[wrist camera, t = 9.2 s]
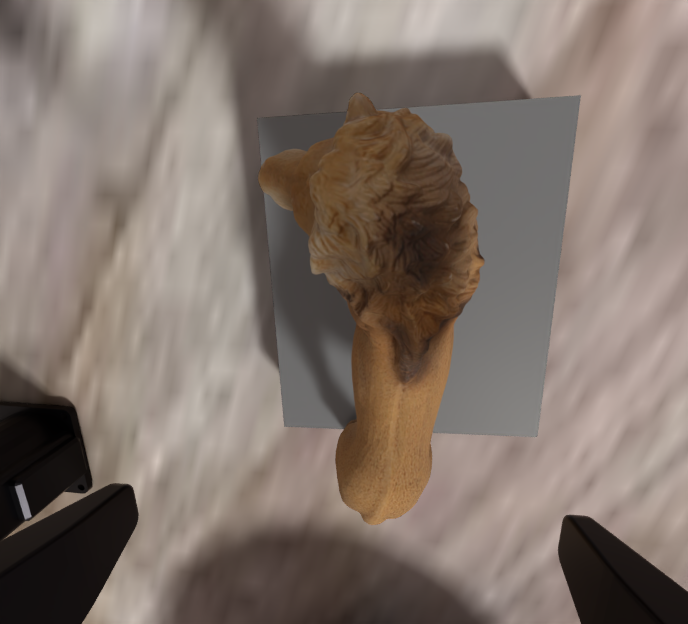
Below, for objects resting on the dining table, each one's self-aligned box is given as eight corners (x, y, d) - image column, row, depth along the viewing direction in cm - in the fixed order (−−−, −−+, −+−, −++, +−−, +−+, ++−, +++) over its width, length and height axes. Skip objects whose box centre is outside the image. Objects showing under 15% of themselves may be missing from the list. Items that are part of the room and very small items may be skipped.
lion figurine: (311, 163, 15) (194, 91, 6) (446, 144, 14) (538, 29, 5) (349, 470, 18) (311, 701, 10) (457, 470, 17) (521, 721, 9)
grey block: (302, 388, 22) (284, 426, 18) (285, 137, 18) (256, 118, 14) (509, 394, 20) (537, 437, 16) (536, 122, 17) (581, 95, 13)
